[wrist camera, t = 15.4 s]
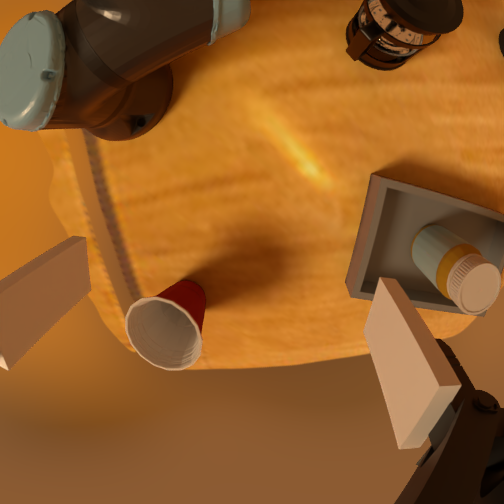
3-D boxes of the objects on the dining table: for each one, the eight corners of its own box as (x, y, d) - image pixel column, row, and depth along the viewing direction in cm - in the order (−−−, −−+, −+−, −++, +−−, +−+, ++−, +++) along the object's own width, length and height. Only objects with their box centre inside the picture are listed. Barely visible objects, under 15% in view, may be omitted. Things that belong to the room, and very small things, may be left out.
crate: (371, 173, 40) (381, 177, 35) (500, 212, 39) (517, 220, 34) (344, 281, 45) (350, 297, 41) (470, 302, 44) (484, 316, 39)
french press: (381, 1, 31) (441, -84, 9) (424, 50, 33) (516, -3, 11) (322, 37, 34) (351, -55, 13) (367, 89, 36) (443, 40, 15)
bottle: (454, 255, 41) (507, 299, 27) (417, 276, 43) (460, 329, 29) (441, 214, 39) (498, 247, 25) (402, 236, 41) (448, 279, 27)
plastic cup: (182, 248, 46) (150, 281, 35) (235, 297, 48) (220, 343, 37) (143, 293, 50) (109, 331, 38) (192, 336, 51) (170, 382, 40)
